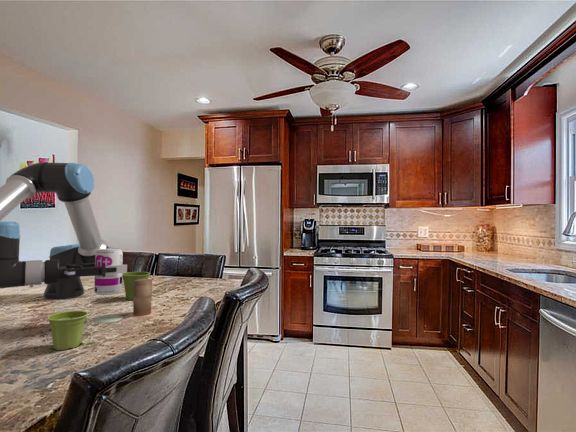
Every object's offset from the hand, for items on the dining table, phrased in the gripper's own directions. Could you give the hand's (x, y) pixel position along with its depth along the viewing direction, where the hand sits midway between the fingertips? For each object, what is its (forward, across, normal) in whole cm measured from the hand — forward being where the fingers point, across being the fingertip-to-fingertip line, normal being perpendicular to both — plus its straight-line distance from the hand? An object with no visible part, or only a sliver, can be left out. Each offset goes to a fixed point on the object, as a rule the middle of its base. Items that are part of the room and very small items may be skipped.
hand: (124, 266), depth 115 cm
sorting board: (+1, 0, -19) cm, 19 cm away
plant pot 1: (-17, +17, -19) cm, 31 cm away
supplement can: (-5, 0, -9) cm, 10 cm away
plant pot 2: (+11, -31, -19) cm, 38 cm away
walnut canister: (+6, 0, -17) cm, 19 cm away
